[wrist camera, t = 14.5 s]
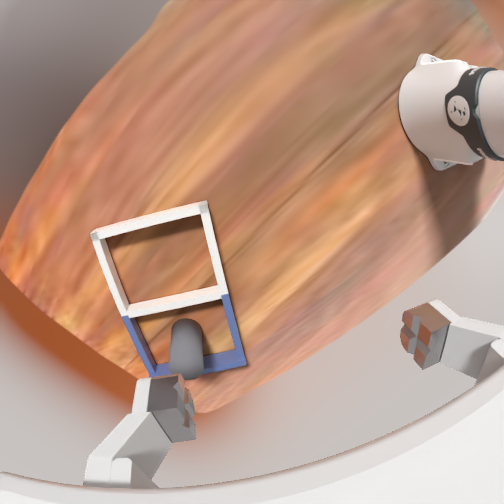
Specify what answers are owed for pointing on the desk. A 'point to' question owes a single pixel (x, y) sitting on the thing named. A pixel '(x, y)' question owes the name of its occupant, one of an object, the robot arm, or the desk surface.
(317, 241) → the desk surface
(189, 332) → the smooth grey pebble
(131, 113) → the desk surface
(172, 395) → the robot arm
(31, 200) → the desk surface
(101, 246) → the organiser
